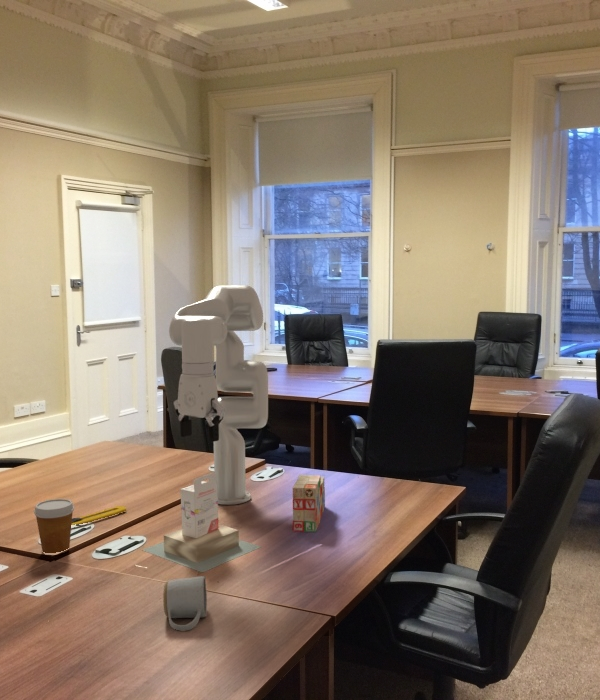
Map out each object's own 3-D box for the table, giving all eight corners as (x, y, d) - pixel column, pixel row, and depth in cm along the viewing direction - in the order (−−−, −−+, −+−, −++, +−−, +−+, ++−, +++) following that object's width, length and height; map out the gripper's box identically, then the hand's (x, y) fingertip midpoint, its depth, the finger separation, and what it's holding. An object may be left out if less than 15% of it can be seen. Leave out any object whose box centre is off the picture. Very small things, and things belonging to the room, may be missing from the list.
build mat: (141, 551, 175) (141, 549, 175) (201, 529, 190) (201, 527, 190) (202, 574, 161) (202, 572, 161) (261, 548, 176) (261, 546, 176)
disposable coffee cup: (38, 561, 169) (36, 512, 168) (33, 548, 178) (31, 501, 177) (79, 554, 174) (77, 506, 172) (72, 541, 182) (70, 496, 181)
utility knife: (46, 528, 193) (46, 521, 193) (116, 508, 210) (116, 501, 210) (60, 534, 189) (60, 527, 188) (130, 513, 206) (130, 506, 206)
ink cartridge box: (204, 525, 181) (203, 468, 179) (219, 528, 178) (218, 471, 176) (180, 535, 174) (179, 476, 172) (195, 539, 171) (194, 479, 169)
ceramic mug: (166, 607, 144) (165, 571, 143) (207, 605, 145) (206, 569, 144) (161, 634, 134) (160, 595, 133) (205, 632, 135) (204, 593, 134)
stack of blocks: (304, 506, 209) (303, 466, 208) (325, 507, 208) (325, 466, 207) (292, 531, 188) (292, 486, 187) (316, 532, 187) (315, 487, 186)
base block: (164, 551, 174) (163, 535, 174) (205, 535, 185) (205, 520, 184) (197, 562, 166) (196, 546, 166) (238, 545, 177) (238, 530, 177)
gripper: (162, 368, 174) (164, 436, 176) (211, 373, 163) (212, 446, 165) (185, 365, 180) (187, 431, 181) (234, 370, 169) (235, 440, 171)
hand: (199, 438), depth 173 cm, fingers open, 9 cm apart
